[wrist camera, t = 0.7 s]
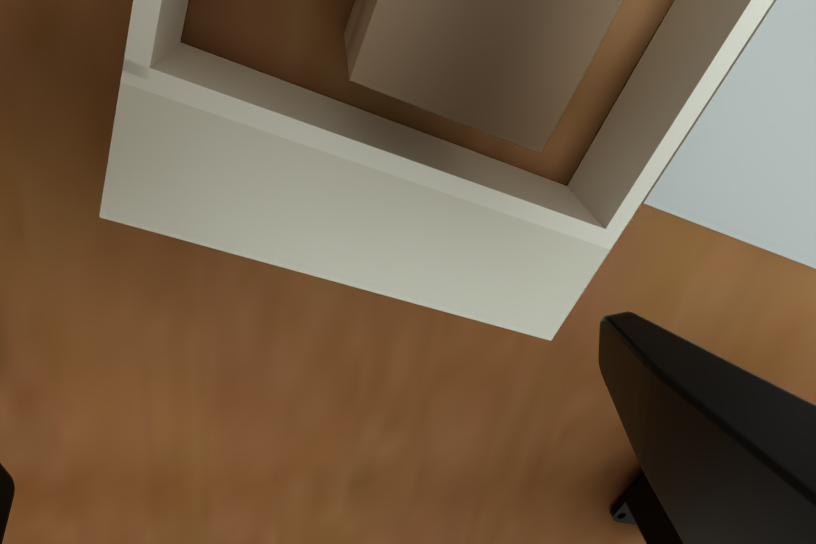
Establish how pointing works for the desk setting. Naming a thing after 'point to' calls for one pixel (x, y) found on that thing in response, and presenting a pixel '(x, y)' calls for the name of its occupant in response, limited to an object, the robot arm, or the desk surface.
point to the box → (479, 58)
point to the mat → (755, 143)
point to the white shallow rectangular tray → (396, 173)
